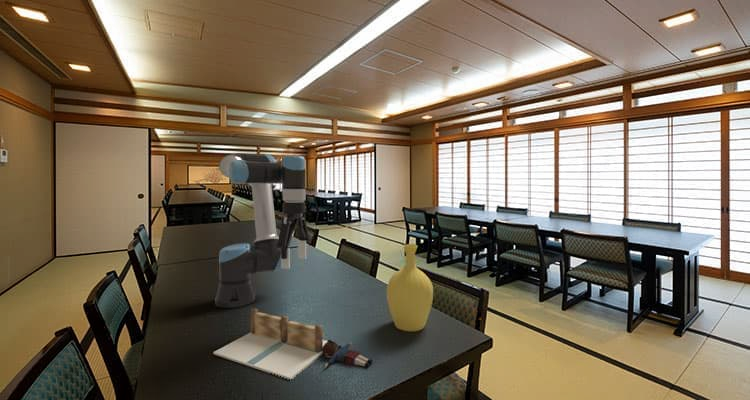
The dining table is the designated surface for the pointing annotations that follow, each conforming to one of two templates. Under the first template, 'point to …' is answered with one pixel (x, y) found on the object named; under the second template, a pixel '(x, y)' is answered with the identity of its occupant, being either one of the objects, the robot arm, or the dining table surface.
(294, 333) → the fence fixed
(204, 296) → the dining table surface
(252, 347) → the card
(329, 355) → the toy
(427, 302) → the vase
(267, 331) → the fence wing
